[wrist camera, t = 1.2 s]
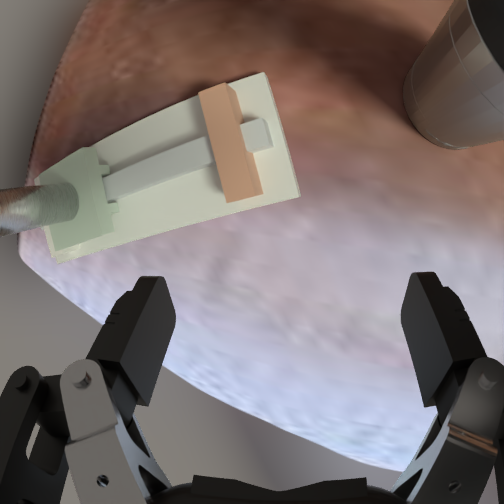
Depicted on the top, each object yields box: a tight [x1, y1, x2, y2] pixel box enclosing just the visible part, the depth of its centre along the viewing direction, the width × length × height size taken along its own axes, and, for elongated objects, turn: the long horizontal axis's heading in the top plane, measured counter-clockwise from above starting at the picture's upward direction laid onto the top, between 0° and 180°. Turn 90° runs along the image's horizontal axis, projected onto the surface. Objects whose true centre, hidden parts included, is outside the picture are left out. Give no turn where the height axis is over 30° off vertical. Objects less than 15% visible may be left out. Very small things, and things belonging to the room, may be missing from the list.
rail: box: [34, 72, 301, 264], centre depth 31 cm, size 32×12×4 cm, turn 105°
